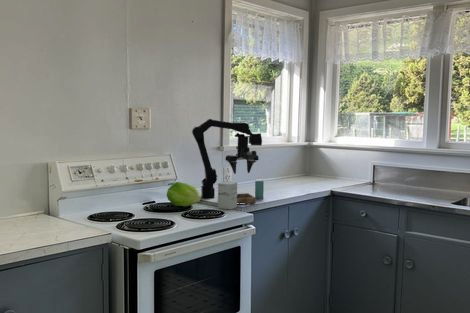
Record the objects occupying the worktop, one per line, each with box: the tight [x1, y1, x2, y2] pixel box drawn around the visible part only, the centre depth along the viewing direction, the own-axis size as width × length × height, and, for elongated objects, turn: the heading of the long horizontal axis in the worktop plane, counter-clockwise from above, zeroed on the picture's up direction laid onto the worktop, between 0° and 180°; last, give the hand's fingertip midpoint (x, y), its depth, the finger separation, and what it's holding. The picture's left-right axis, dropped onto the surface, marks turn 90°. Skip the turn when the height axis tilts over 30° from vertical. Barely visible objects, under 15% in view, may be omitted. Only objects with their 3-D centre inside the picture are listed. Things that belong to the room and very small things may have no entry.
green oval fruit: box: [166, 181, 202, 207], centre depth 232 cm, size 14×20×12 cm
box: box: [237, 192, 257, 204], centre depth 246 cm, size 13×13×3 cm
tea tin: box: [254, 178, 265, 200], centre depth 256 cm, size 4×4×10 cm
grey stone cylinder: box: [217, 180, 238, 210], centre depth 231 cm, size 7×7×13 cm
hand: (241, 173), depth 259 cm, fingers open, 9 cm apart
